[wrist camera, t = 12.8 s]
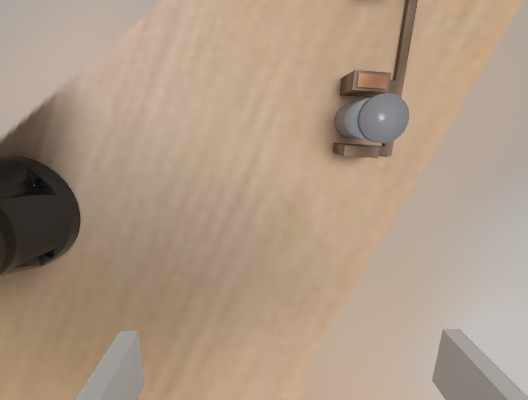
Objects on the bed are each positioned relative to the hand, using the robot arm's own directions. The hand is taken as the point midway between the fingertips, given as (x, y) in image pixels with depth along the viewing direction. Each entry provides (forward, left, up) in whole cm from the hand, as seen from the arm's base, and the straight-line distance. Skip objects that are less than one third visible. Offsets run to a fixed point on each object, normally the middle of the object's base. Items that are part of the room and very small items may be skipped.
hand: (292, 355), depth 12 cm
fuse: (+10, +11, -28) cm, 32 cm away
